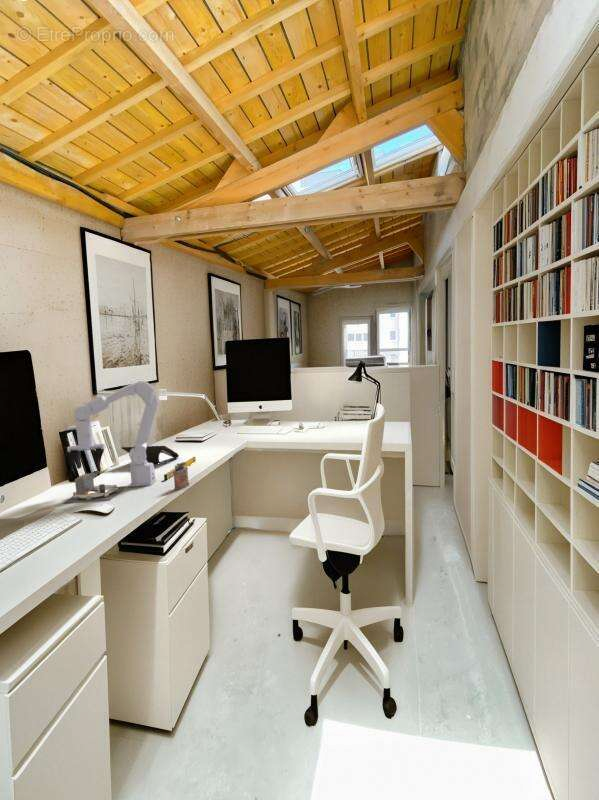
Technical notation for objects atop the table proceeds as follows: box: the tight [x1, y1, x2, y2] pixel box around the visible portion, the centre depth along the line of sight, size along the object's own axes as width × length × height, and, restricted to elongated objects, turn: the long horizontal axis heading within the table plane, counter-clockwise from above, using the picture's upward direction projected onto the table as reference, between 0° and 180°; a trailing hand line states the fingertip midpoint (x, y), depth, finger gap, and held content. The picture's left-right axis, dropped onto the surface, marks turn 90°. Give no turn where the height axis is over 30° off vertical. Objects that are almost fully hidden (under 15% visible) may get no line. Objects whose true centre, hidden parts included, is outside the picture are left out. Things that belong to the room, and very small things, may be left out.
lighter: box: [173, 461, 190, 491], centre depth 186 cm, size 8×3×10 cm, turn 160°
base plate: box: [62, 485, 128, 505], centre depth 184 cm, size 18×18×1 cm
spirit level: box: [163, 456, 197, 481], centre depth 215 cm, size 33×1×3 cm, turn 171°
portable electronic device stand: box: [120, 445, 180, 465], centre depth 235 cm, size 23×23×9 cm
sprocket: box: [72, 483, 118, 500], centre depth 183 cm, size 17×17×4 cm
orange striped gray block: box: [74, 472, 95, 494], centre depth 183 cm, size 4×8×6 cm, turn 1°
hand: (88, 467), depth 187 cm, fingers open, 7 cm apart
